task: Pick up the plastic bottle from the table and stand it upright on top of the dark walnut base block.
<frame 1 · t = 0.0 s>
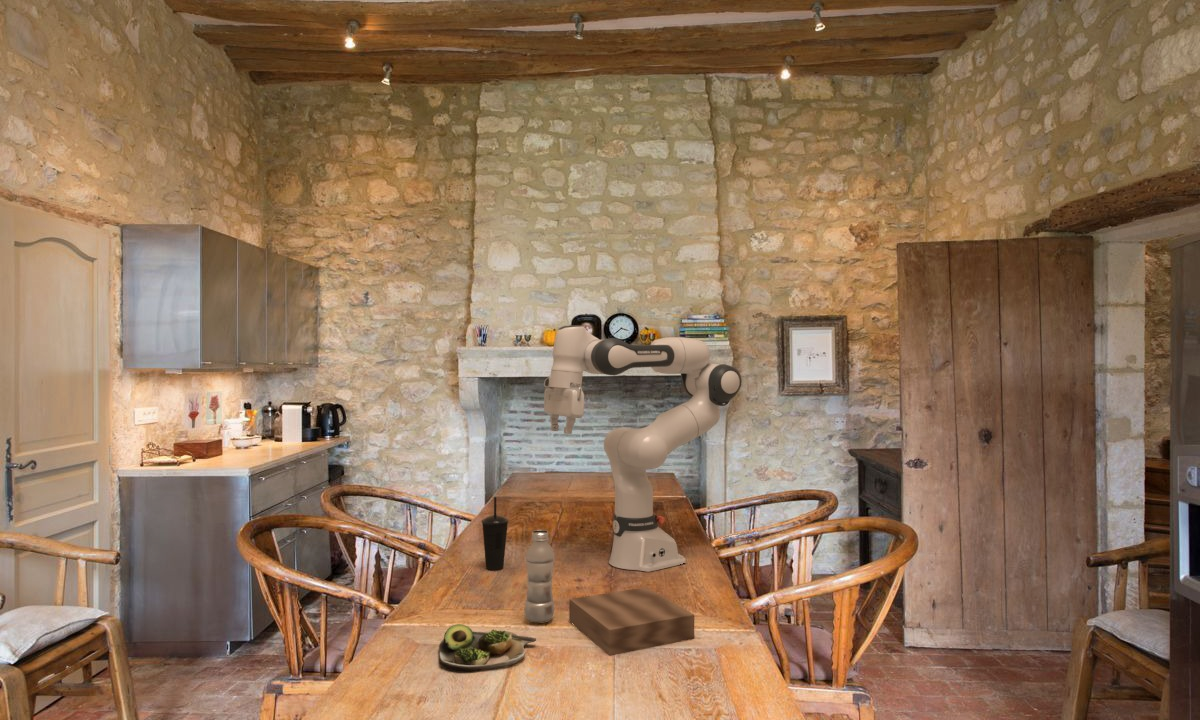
hand: (560, 432, 191), 39 cm above the table, tool pointing down, fingers open, 8 cm apart
walnut base: (629, 629, 150), on the table
avocado toast plate: (479, 655, 138), on the table
plastic bottle: (539, 622, 155), on the table
drinking cup: (494, 569, 195), on the table
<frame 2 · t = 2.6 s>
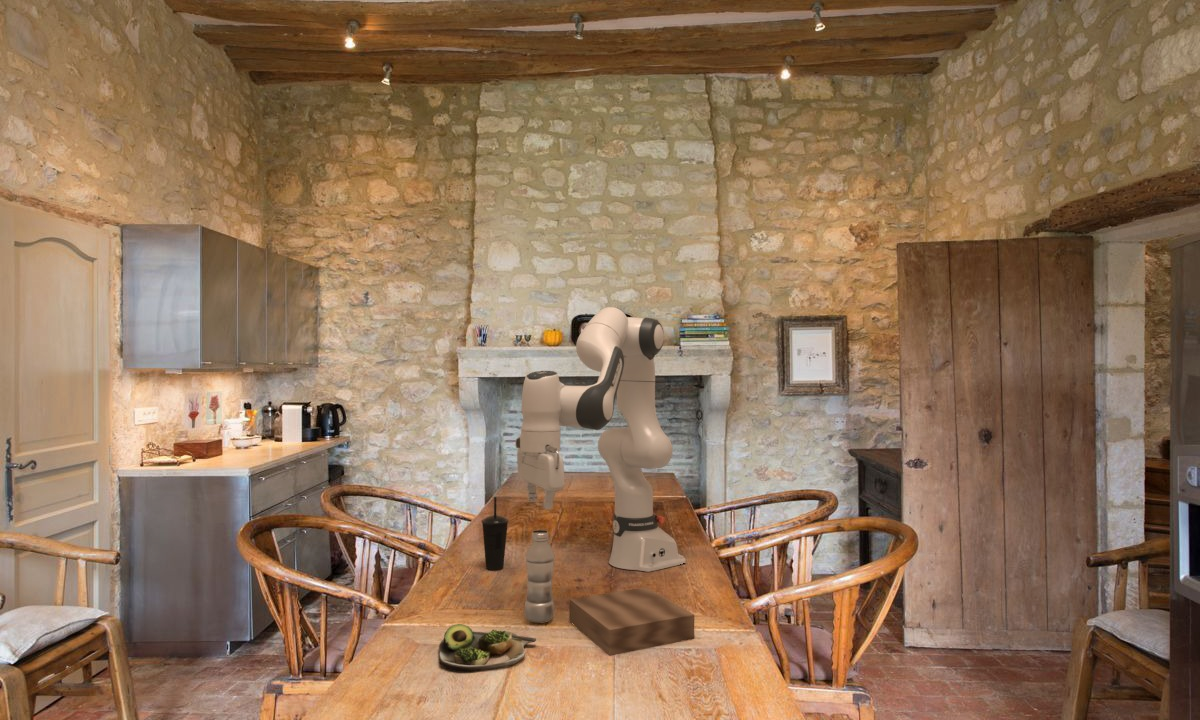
hand: (539, 505, 155), 26 cm above the table, tool pointing down, fingers open, 8 cm apart
nothing on the table moved.
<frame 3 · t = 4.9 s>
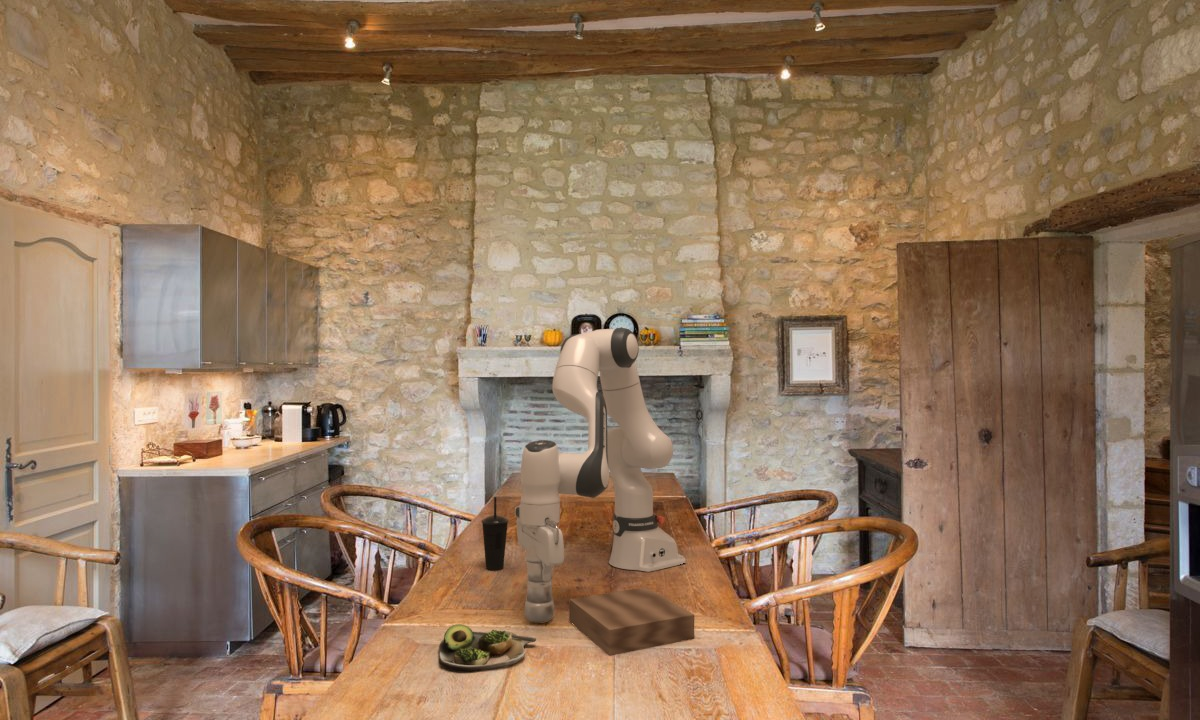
hand: (539, 575, 155), 10 cm above the table, tool pointing down, fingers closed on plastic bottle, 6 cm apart
plastic bottle: (539, 622, 155), on the table, touching gripper
everything else where it was.
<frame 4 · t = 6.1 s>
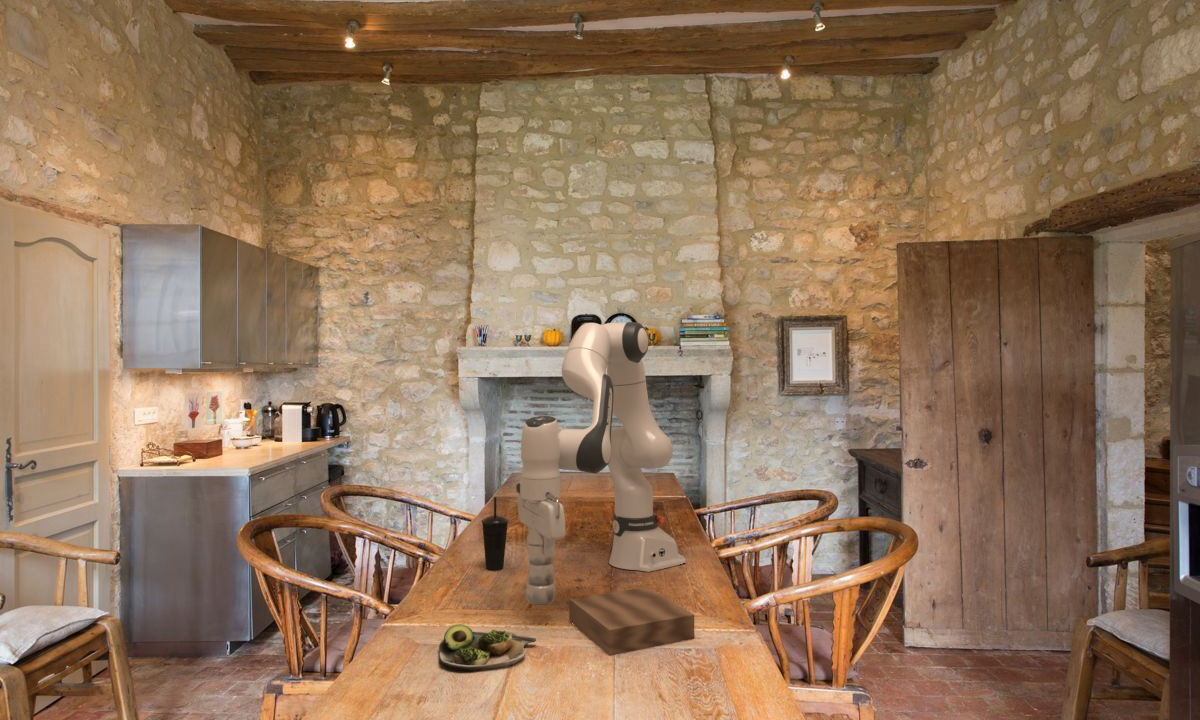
hand: (541, 550, 155), 16 cm above the table, tool pointing down, fingers closed on plastic bottle, 6 cm apart
plastic bottle: (541, 604, 155), point 4 cm above the table, touching gripper
everything else where it was.
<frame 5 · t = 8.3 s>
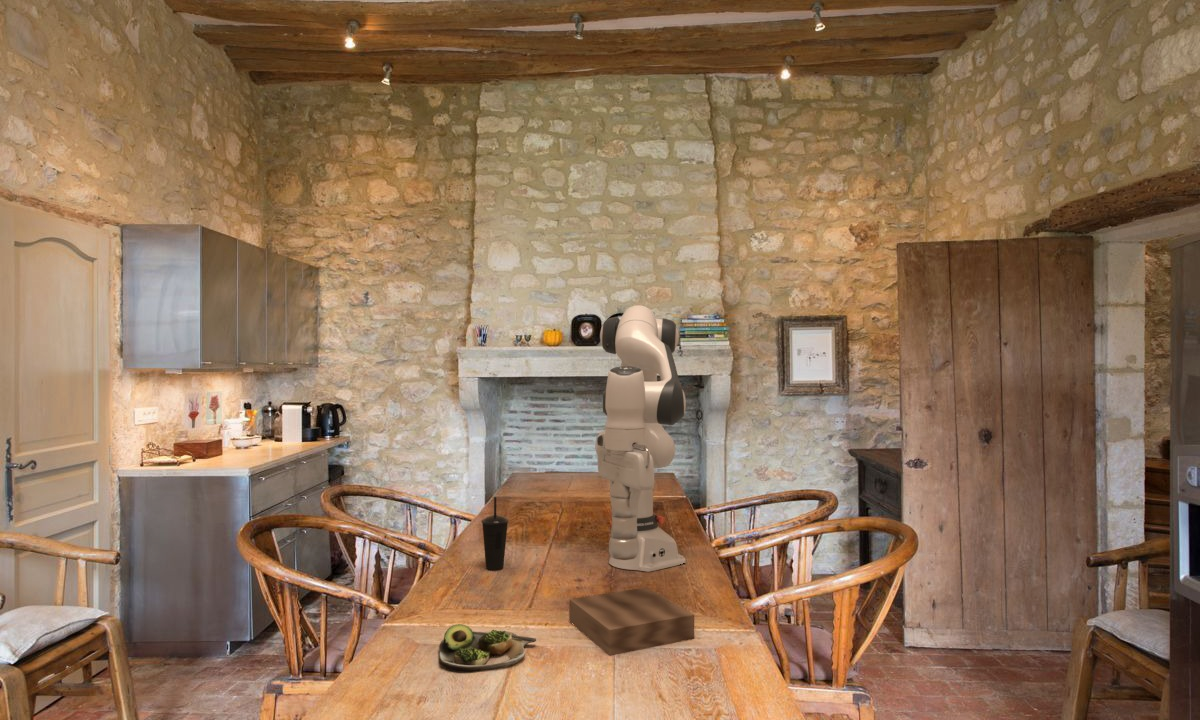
hand: (624, 504, 151), 27 cm above the table, tool pointing down, fingers closed on plastic bottle, 6 cm apart
plastic bottle: (624, 560, 151), point 15 cm above the table, touching gripper
everything else where it was.
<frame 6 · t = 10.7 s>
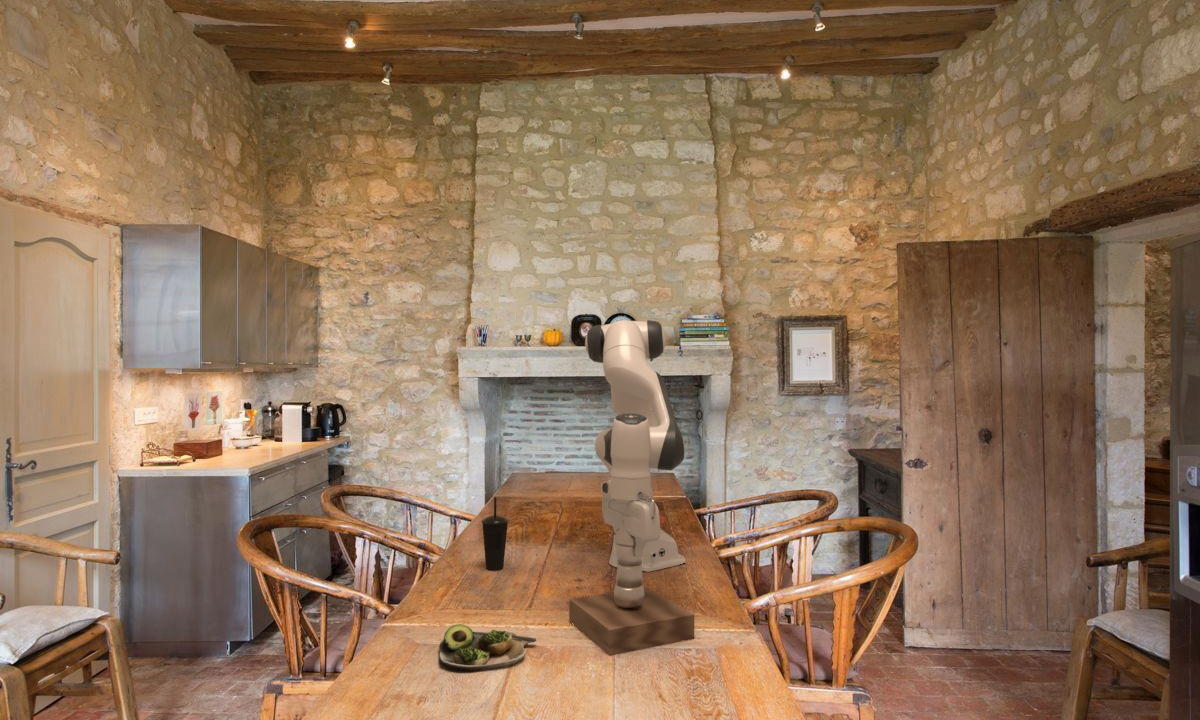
hand: (630, 552, 150), 17 cm above the table, tool pointing down, fingers closed on plastic bottle, 6 cm apart
plastic bottle: (629, 607, 150), point 5 cm above the table, touching gripper, walnut base
everything else where it was.
when the fingers open (17 cm above the table, at t = 11.4 s): plastic bottle stays where it is, resting on walnut base.
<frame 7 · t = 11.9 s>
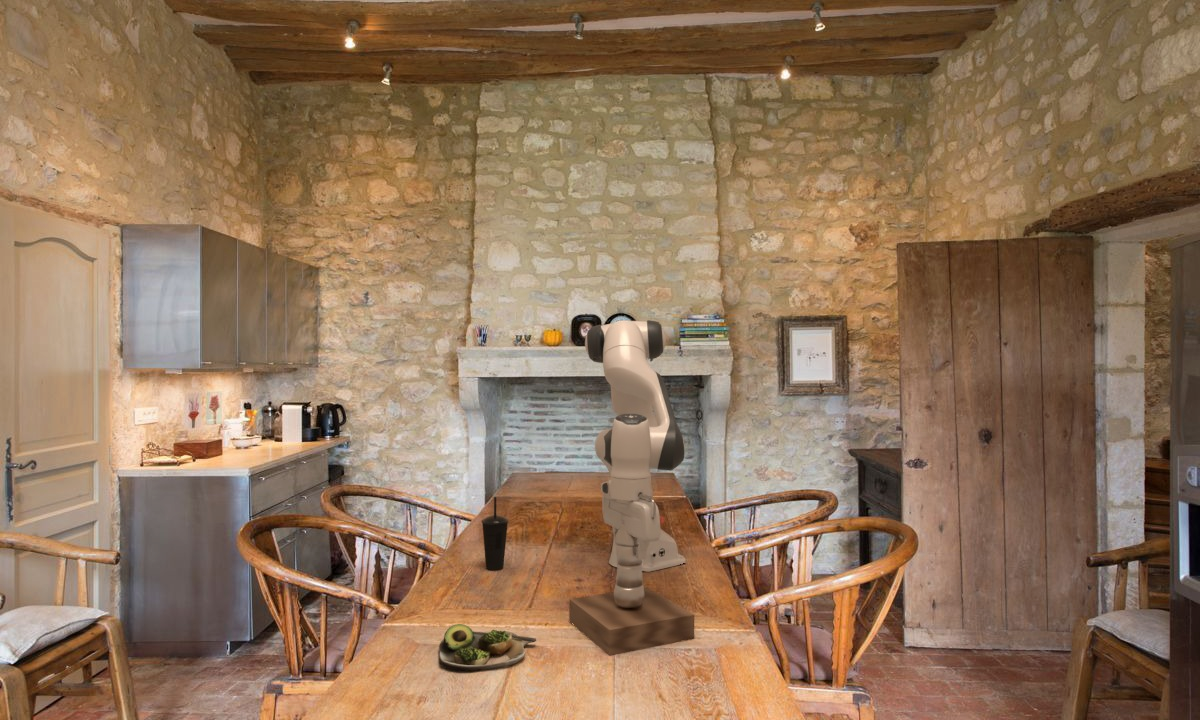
hand: (630, 553, 150), 17 cm above the table, tool pointing down, fingers open, 8 cm apart
plastic bottle: (629, 607, 150), point 5 cm above the table, touching walnut base
everything else where it was.
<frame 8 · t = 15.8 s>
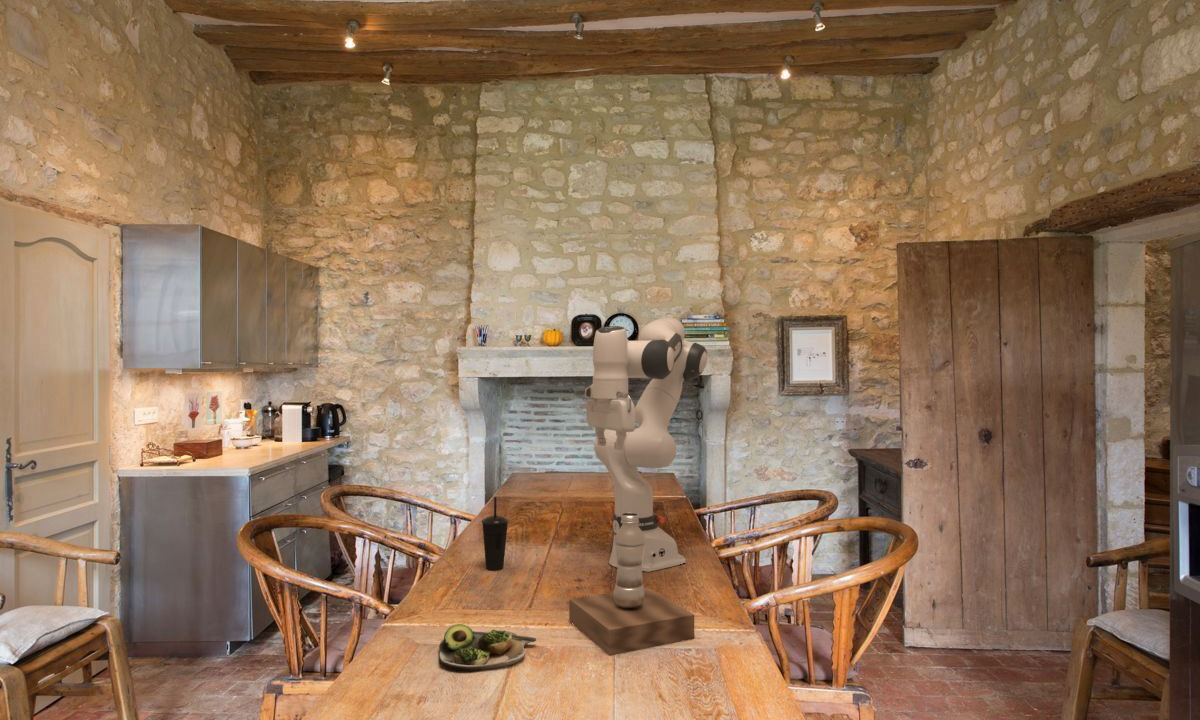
hand: (610, 447, 171), 37 cm above the table, tool pointing down, fingers open, 8 cm apart
nothing on the table moved.
at the end: plastic bottle inside the target area on the walnut base (0.1 cm from its centre), point 4.8 cm above the walnut base's base; plastic bottle tilted 0°; plastic bottle touching walnut base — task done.
